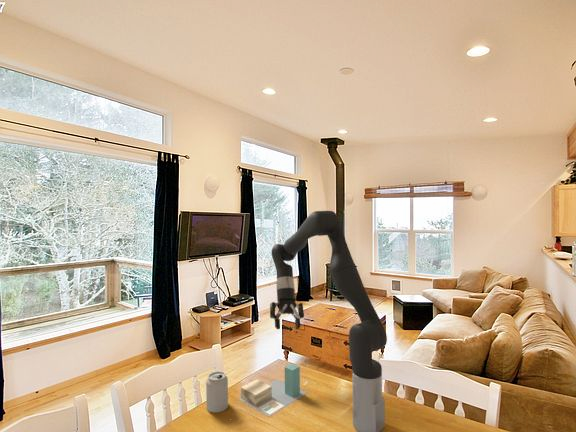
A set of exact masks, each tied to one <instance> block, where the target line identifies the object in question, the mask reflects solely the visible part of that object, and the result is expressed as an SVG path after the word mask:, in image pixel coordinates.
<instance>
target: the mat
mask: <svg viewBox="0 0 576 432" xmlns="http://www.w3.org/2000/svg"><path fill="white" fill-rule="evenodd" d="M267 384H268V385H270V386H272V397H271V398H269V399H267V400H266V401H264V402H262V403H260V404H259V405H257V406H254V405H252V404H251V403H249V402H247V401H245V400H244V399H242V398H241V397H240V398H238V400H239V401H241V402H243V403H244V404H247V406H249V407H251V408H253V409H255V410H256V411H258V412H260V413H261V414H263V415H265V416H266V417H268V418H270V417H273V415H274V414H276V413H278V412H280V411H281V410H283V409H284V408H285V407H287V406H289V405H291V404H292V403H294V402H296V401H297V400H298V399H300V398H302V397H303V396H305V395H307V394H308V392H307V391H305V390H303V389H300V393H299V394H298V395H296V396H294V397H291V396H289V395H287V394H285V381H283V380H281V379H279V378H276V379H275V380H272V381H271V382H268V383H267Z"/></svg>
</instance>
